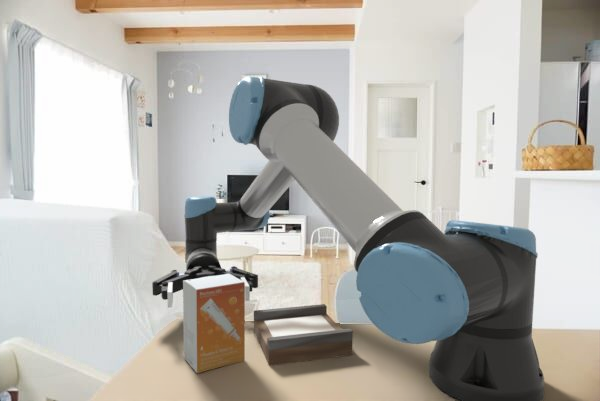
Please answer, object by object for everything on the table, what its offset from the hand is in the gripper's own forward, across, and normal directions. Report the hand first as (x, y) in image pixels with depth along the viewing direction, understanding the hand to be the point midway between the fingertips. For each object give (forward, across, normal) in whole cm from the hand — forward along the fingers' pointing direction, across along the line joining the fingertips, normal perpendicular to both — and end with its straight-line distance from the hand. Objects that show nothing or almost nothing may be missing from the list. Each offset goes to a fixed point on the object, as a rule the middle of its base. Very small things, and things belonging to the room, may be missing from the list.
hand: (209, 296), depth 75 cm
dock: (+6, -15, -8) cm, 18 cm away
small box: (+9, 0, -8) cm, 12 cm away
